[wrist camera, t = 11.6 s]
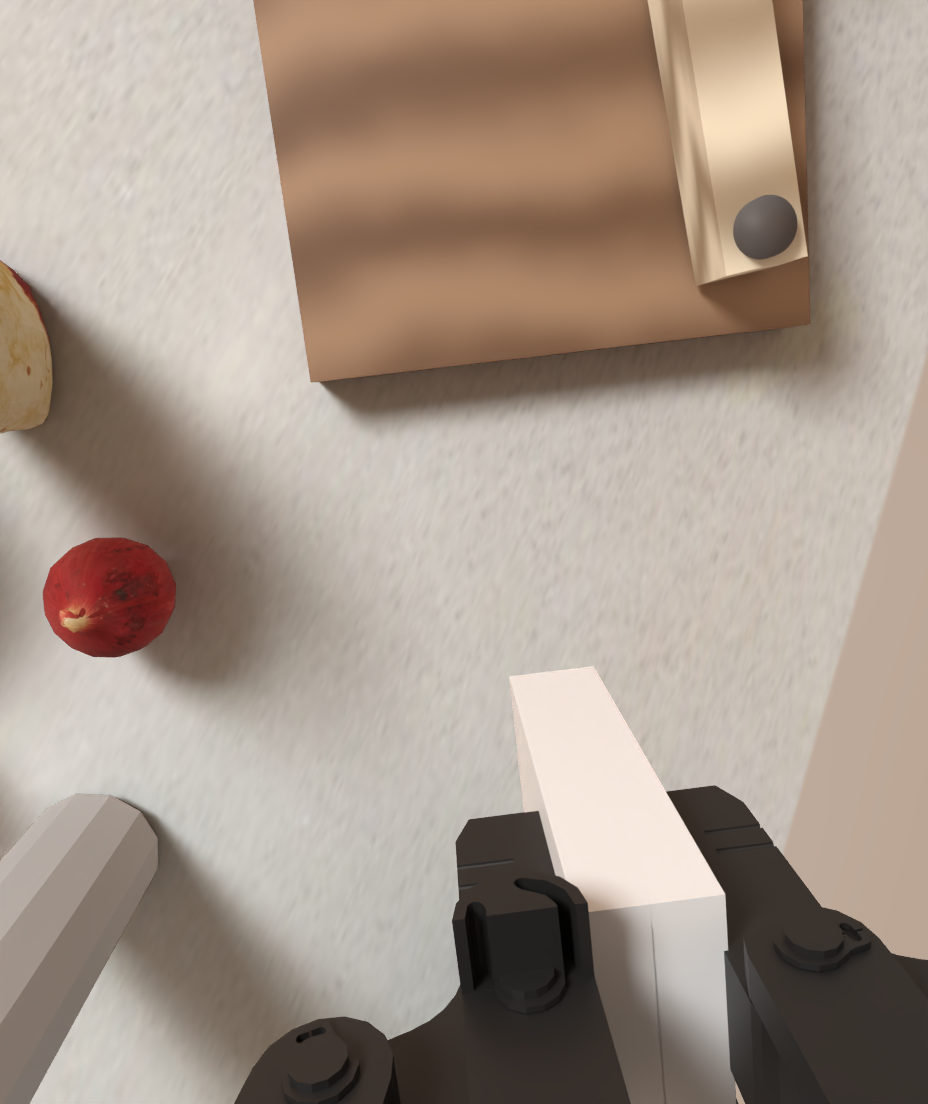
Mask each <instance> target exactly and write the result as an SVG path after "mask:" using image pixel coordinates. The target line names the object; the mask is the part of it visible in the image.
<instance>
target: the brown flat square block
mask: <svg viewBox="0 0 928 1104" xmlns="http://www.w3.org/2000/svg"><path fill="white" fill-rule="evenodd" d="M253 1H254V8H255V14H256V21H257V28H258V34H259V41H260V48H261V54H262V61H263V67H264V74H265V81H266V87H267V94H268V101H269V107H270V114H271V121H272V127H273V134H274V141H275V147H276V154H277V160H278V167H279V174H280V180H281V187H282V194H283V200H284V207H285V214H286V220H287V227H288V234H289V240H290V247H291V253H292V260H293V267H294V273H295V280H296V287H297V293H298V300H299V307H300V313H301V320H302V326H303V333H304V340H305V346H306V353H307V360H308V366H309V373H310V380H311V382H323V381H332V380H340V379H349V378H357V377H366V376H375V375H383V374H392V373H400V372H409V371H417V370H426V369H435V368H443V367H452V366H460V365H469V364H478V363H486V362H495V361H503V360H512V359H520V358H529V357H538V356H546V355H555V354H563V353H572V352H580V351H589V350H598V349H606V348H615V347H623V346H632V345H641V344H649V343H658V342H666V341H675V340H683V339H692V338H701V337H709V336H718V335H726V334H735V333H743V332H752V331H761V330H769V329H778V328H786V327H793V326H800V325H807V324H810V290H809V248H808V205H807V163H806V120H805V78H804V35H803V0H772V3H773V10H774V17H775V24H776V31H777V39H778V46H779V53H780V60H781V67H782V74H783V82H784V89H785V96H786V103H787V110H788V118H789V125H790V132H791V139H792V146H793V153H794V161H795V168H796V175H797V182H798V189H799V196H800V204H801V211H802V218H803V225H804V232H805V240H806V247H807V254H808V256H807V257H804V258H801V259H797V260H794V261H791V262H788V263H785V264H782V265H779V266H775V267H772V268H769V269H765V270H761V271H757V272H753V273H749V274H745V275H741V276H737V277H732V278H728V279H724V280H720V281H716V282H712V283H708V284H704V285H700V286H696V284H695V278H694V273H693V267H692V261H691V255H690V249H689V243H688V237H687V231H686V225H685V219H684V213H683V207H682V201H681V196H680V190H679V184H678V178H677V172H676V166H675V160H674V154H673V148H672V142H671V136H670V130H669V124H668V119H667V113H666V107H665V101H664V95H663V89H662V83H661V77H660V71H659V65H658V59H657V53H656V47H655V42H654V36H653V30H652V24H651V18H650V12H649V6H648V0H253Z"/></svg>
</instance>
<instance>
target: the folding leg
mask: <svg viewBox="0 0 928 1104" xmlns="http://www.w3.org/2000/svg"><path fill="white" fill-rule="evenodd" d="M648 6H649V12H650V18H651V24H652V30H653V36H654V42H655V47H656V53H657V59H658V65H659V71H660V77H661V83H662V89H663V95H664V101H665V107H666V113H667V119H668V124H669V130H670V136H671V142H672V148H673V154H674V160H675V166H676V172H677V178H678V184H679V190H680V196H681V201H682V207H683V213H684V219H685V225H686V231H687V237H688V243H689V249H690V255H691V261H692V267H693V273H694V278H695V284H696V286H700V285H704V284H708V283H712V282H716V281H720V280H724V279H728V278H732V277H737V276H741V275H745V274H749V273H753V272H757V271H761V270H765V269H769V268H772V267H775V266H779V265H782V264H785V263H788V262H791V261H794V260H797V259H801V258H804V257H807V256H808V254H807V247H806V240H805V232H804V225H803V218H802V211H801V204H800V196H799V189H798V182H797V175H796V168H795V161H794V153H793V146H792V139H791V132H790V125H789V118H788V110H787V103H786V96H785V89H784V82H783V74H782V67H781V60H780V53H779V46H778V39H777V31H776V24H775V17H774V10H773V3H772V0H648Z"/></svg>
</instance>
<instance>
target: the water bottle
mask: <svg viewBox="0 0 928 1104" xmlns="http://www.w3.org/2000/svg"><path fill="white" fill-rule="evenodd" d="M157 869H158V838H157V836H156V835H155V833H154V832H153V830H152V828H151V827H150V825H149V824H148V822H147V821H146V819H145V818H144V816H143V814H142V813H141V811H139V810H137V809H135V808H133V807H132V806H130V805H128V804H126V803H124V802H122V801H121V800H119V799H117V798H115V797H113V796H112V795H97V794H75V795H73V796H70V797H68V798H66V799H64V800H62V801H60V802H58V803H56V804H54V805H52V806H50V807H48V808H46V810H45V811H44V812H43V813H42V814H41V815H40V816H39V818H38V819H37V820H36V821H35V822H34V823H33V824H32V825H31V827H30V828H29V829H28V830H27V831H26V832H25V833H24V835H23V836H22V837H21V838H20V839H19V840H18V841H17V842H16V844H15V845H14V846H13V847H12V848H11V849H10V850H9V852H8V853H7V854H6V855H5V856H4V857H3V858H2V860H1V861H0V1104H29V1103H30V1101H31V1100H32V1098H33V1096H34V1094H35V1092H36V1090H37V1089H38V1087H39V1085H40V1083H41V1081H42V1080H43V1078H44V1076H45V1074H46V1072H47V1070H48V1069H49V1067H50V1065H51V1063H52V1061H53V1059H54V1058H55V1056H56V1054H57V1052H58V1050H59V1048H60V1047H61V1045H62V1043H63V1041H64V1039H65V1037H66V1036H67V1034H68V1032H69V1030H70V1028H71V1026H72V1025H73V1023H74V1021H75V1019H76V1017H77V1015H78V1014H79V1012H80V1010H81V1008H82V1006H83V1004H84V1003H85V1001H86V999H87V997H88V995H89V994H90V992H91V990H92V988H93V986H94V984H95V983H96V981H97V979H98V977H99V975H100V973H101V972H102V970H103V968H104V966H105V964H106V962H107V961H108V959H109V957H110V955H111V953H112V951H113V950H114V948H115V946H116V944H117V942H118V940H119V939H120V937H121V935H122V933H123V931H124V929H125V928H126V926H127V924H128V922H129V920H130V919H131V917H132V915H133V913H134V911H135V909H136V908H137V906H138V904H139V902H140V900H141V898H142V897H143V895H144V893H145V891H146V889H147V887H148V886H149V884H150V882H151V880H152V878H153V876H154V875H155V873H156V871H157Z"/></svg>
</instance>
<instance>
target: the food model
mask: <svg viewBox="0 0 928 1104" xmlns="http://www.w3.org/2000/svg"><path fill="white" fill-rule="evenodd" d="M52 385H53V381H52V358H51V351H50V344H49V337H48V333H47V330H46V327H45V324H44V321H43V318H42V314H41V312H40V309H39V307H38V305H37V303H36V300H35V298H34V296H33V294H32V292H31V289H30V287H29V285H28V284H27V283H26V282H25V281H24V280H23V279H22V278H21V277H20V276H19V275H18V274H17V273H16V272H15V271H14V270H13V269H11V268H10V267H9V266H7V265H6V264H5V263H3V262H2V261H0V433H4V432H7V431H14V430H27V429H31V428H33V427H36V426H39V425H41V424H43V423H44V421H45V419H46V417H47V416H48V414H49V408H50V400H51V392H52Z"/></svg>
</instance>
